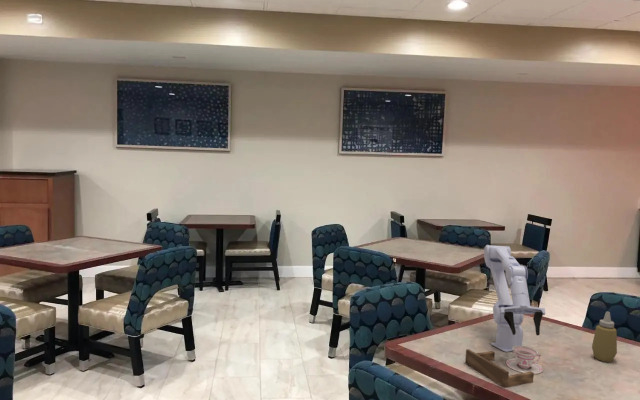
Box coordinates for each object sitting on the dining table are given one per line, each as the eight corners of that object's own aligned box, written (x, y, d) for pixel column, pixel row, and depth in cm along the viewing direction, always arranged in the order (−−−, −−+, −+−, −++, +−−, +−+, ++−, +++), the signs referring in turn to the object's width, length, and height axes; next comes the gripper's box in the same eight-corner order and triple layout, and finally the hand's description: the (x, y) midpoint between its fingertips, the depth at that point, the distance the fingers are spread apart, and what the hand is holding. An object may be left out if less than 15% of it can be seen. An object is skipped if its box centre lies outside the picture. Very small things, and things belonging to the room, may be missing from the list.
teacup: (505, 370, 160) (506, 353, 160) (505, 357, 171) (507, 341, 171) (544, 377, 156) (545, 360, 155) (541, 363, 167) (543, 347, 166)
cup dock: (491, 358, 169) (492, 345, 168) (533, 381, 152) (534, 367, 151) (465, 363, 164) (466, 349, 163) (504, 387, 147) (505, 372, 147)
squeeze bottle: (612, 356, 176) (617, 310, 174) (618, 365, 168) (623, 316, 166) (588, 353, 178) (593, 307, 177) (593, 361, 171) (598, 313, 169)
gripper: (500, 292, 165) (505, 329, 158) (544, 292, 162) (551, 331, 155) (497, 299, 171) (502, 336, 164) (540, 300, 168) (546, 337, 161)
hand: (526, 334), depth 160 cm, fingers open, 7 cm apart
